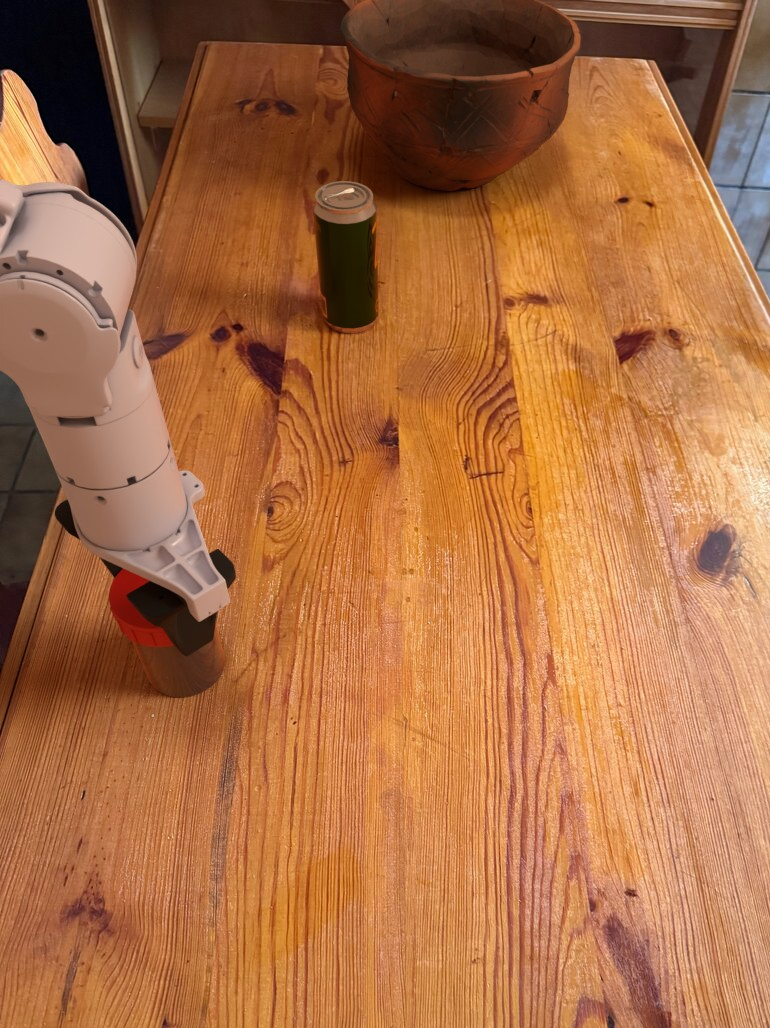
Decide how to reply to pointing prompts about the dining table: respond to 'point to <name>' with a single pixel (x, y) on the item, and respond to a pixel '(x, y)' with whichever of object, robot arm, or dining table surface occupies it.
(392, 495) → the dining table surface
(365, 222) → the beer can
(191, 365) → the dining table surface
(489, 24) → the bowl
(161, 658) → the jar
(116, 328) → the robot arm
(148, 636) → the jar lid
